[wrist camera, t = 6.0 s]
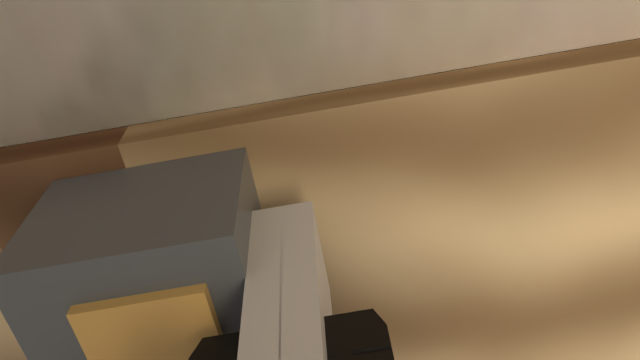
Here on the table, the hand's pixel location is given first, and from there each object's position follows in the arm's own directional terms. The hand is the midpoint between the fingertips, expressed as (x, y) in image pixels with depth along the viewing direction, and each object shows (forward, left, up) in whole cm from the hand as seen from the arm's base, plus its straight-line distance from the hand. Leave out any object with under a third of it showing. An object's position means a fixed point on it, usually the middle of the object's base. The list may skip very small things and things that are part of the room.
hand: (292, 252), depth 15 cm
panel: (+4, 0, -3) cm, 5 cm away
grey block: (0, -3, -1) cm, 3 cm away
